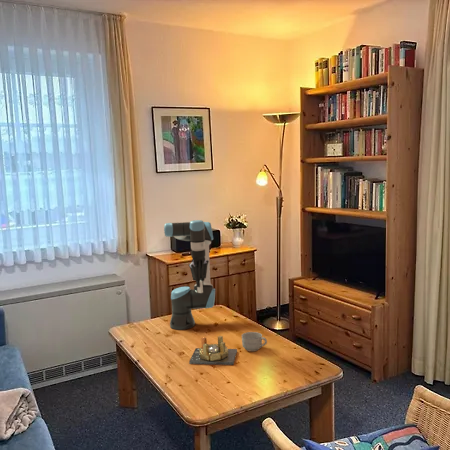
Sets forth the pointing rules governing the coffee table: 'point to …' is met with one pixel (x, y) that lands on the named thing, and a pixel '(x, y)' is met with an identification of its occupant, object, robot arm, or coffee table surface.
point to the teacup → (252, 341)
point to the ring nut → (217, 356)
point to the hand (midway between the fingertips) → (200, 292)
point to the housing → (212, 350)
